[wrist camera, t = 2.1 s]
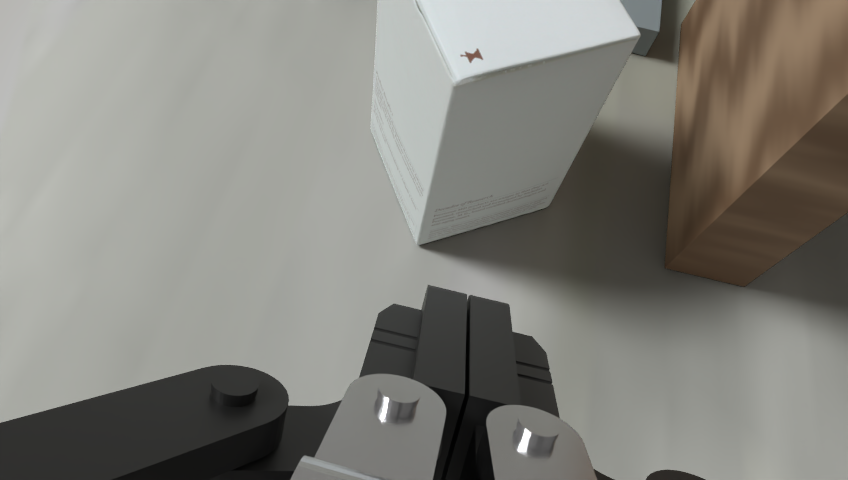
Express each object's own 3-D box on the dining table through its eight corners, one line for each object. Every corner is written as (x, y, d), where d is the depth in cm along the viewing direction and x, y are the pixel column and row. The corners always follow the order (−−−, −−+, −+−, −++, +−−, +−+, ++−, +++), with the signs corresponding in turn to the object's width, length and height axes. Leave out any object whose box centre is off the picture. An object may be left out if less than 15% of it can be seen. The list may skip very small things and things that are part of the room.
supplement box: (552, 210, 36) (650, 39, 24) (413, 249, 34) (449, 85, 23) (497, 93, 38) (562, -109, 27) (366, 124, 37) (376, -78, 25)
